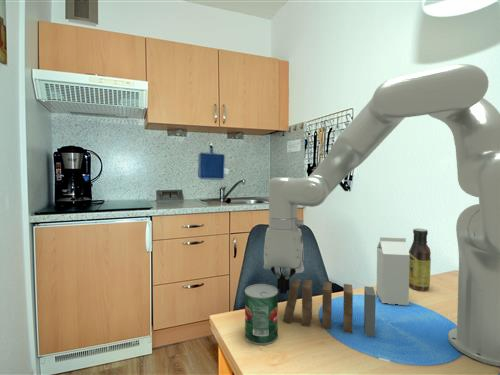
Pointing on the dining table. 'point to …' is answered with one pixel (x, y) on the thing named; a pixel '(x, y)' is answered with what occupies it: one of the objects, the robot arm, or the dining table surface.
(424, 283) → the sauce bottle
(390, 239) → the milk carton
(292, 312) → the walnut domino
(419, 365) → the dining table surface
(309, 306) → the walnut domino
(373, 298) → the charcoal domino
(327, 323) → the walnut domino
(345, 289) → the walnut domino
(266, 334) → the canned tomato
